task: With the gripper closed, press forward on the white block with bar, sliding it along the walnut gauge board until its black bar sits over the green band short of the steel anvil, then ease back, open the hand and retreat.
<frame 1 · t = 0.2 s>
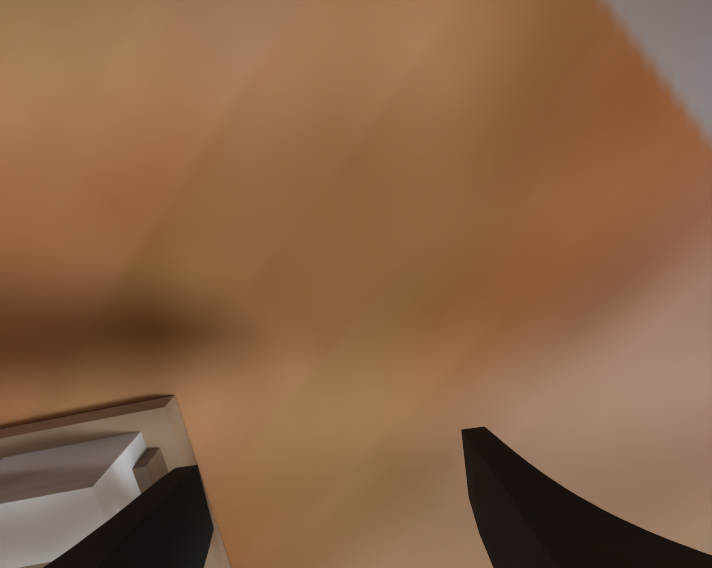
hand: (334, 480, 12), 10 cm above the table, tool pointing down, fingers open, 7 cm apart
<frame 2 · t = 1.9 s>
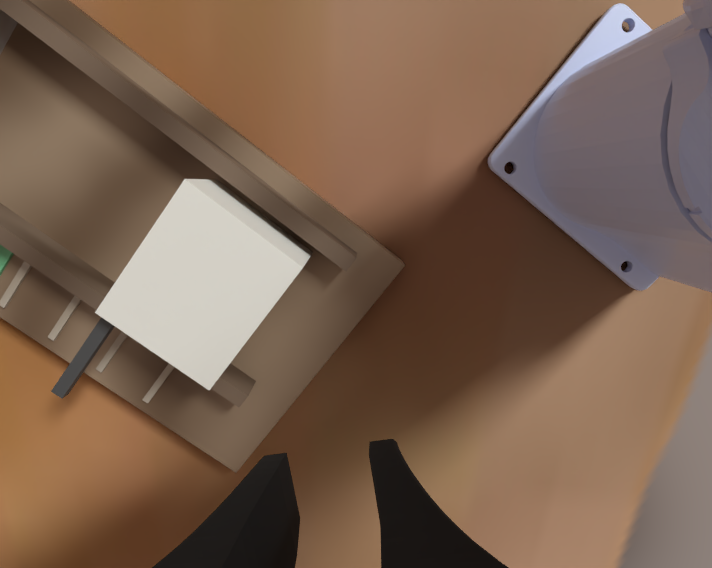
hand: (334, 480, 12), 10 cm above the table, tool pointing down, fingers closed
gauge board: (124, 225, 20), on the table
white block with bar: (182, 321, 18), point 3 cm above the table, slide at 0.0 cm
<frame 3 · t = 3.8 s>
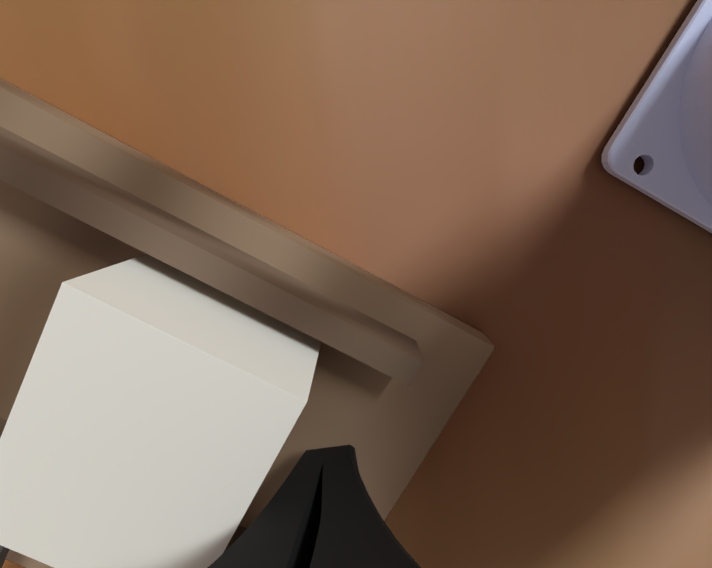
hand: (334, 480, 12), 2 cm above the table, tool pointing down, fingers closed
gauge board: (59, 349, 14), on the table
white block with bar: (131, 493, 11), point 3 cm above the table, slide at 0.8 cm, touching gripper
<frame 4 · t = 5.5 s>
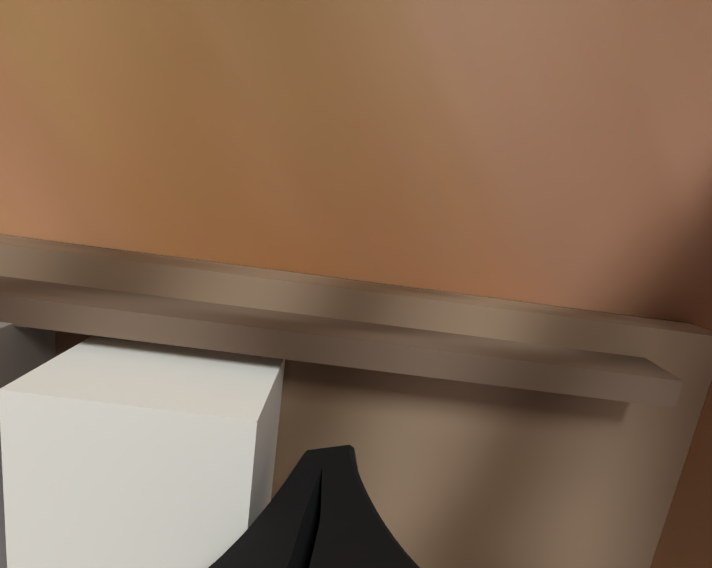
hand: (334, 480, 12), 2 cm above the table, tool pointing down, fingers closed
gauge board: (301, 472, 14), on the table
white block with bar: (158, 556, 12), point 3 cm above the table, slide at 8.2 cm, touching gripper
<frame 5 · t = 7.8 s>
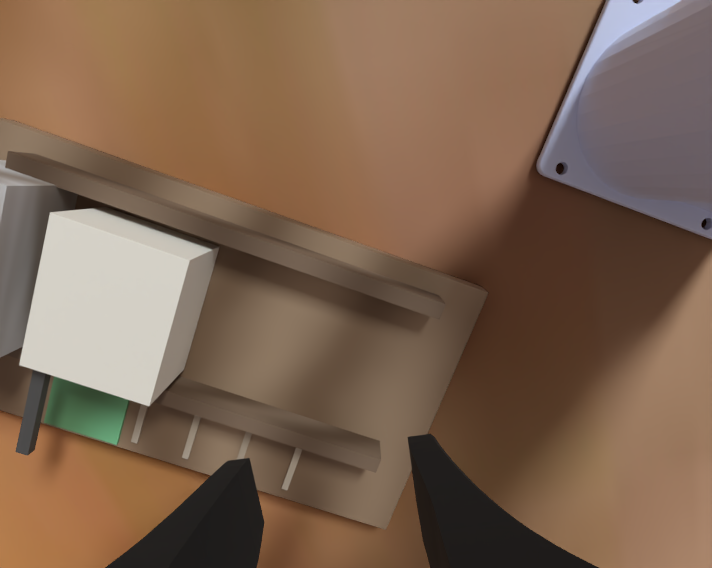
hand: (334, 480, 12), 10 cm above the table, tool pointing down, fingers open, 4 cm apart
gauge board: (216, 335, 22), on the table
white block with bar: (114, 350, 18), point 3 cm above the table, slide at 8.2 cm
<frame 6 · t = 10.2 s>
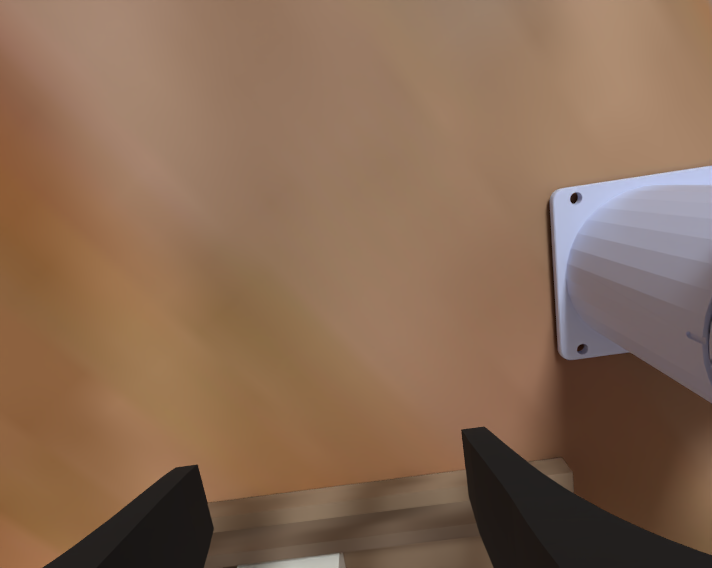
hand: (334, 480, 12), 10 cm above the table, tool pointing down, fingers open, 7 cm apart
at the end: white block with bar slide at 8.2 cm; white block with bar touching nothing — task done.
